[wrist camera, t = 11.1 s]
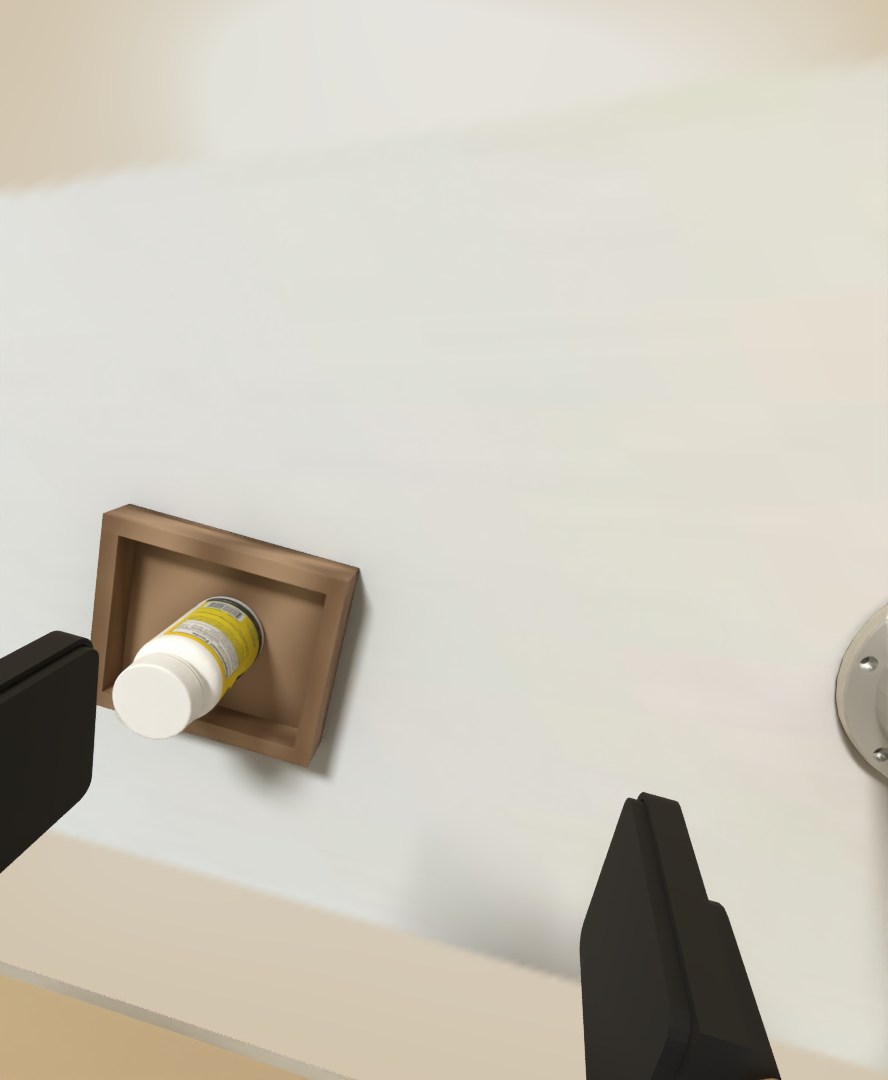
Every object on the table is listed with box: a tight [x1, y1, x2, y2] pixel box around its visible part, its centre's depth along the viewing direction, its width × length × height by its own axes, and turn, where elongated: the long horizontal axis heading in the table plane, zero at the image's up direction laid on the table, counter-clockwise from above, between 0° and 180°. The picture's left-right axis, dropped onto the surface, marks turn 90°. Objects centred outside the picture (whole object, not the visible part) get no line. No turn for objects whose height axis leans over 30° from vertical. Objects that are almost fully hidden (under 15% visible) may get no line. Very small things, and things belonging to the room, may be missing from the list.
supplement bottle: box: [112, 596, 264, 739], centre depth 35 cm, size 5×5×8 cm
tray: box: [91, 504, 359, 767], centre depth 38 cm, size 14×12×2 cm
